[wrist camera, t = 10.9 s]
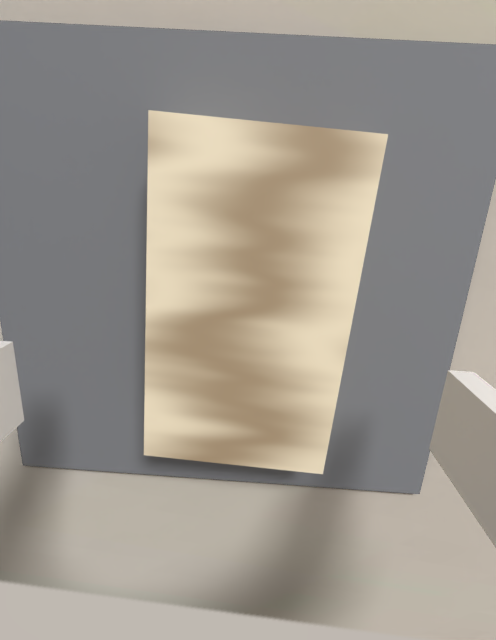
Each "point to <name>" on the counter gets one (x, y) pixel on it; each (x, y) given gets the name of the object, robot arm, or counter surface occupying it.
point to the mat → (131, 227)
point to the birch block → (251, 285)
